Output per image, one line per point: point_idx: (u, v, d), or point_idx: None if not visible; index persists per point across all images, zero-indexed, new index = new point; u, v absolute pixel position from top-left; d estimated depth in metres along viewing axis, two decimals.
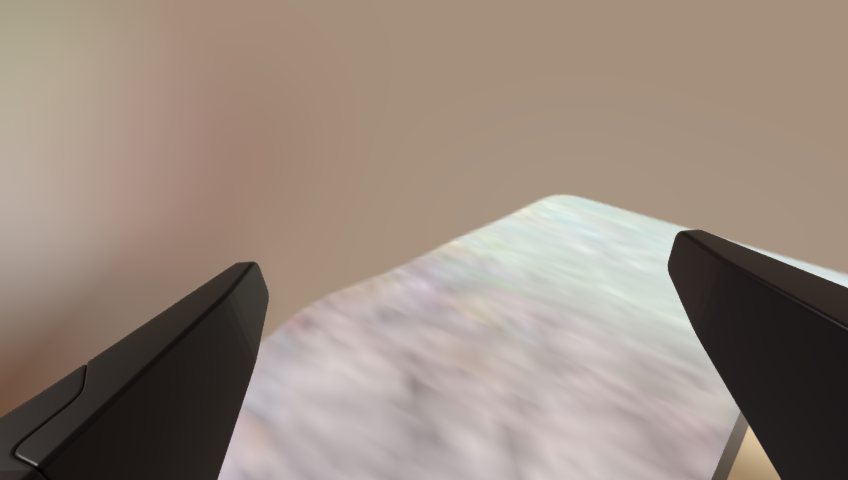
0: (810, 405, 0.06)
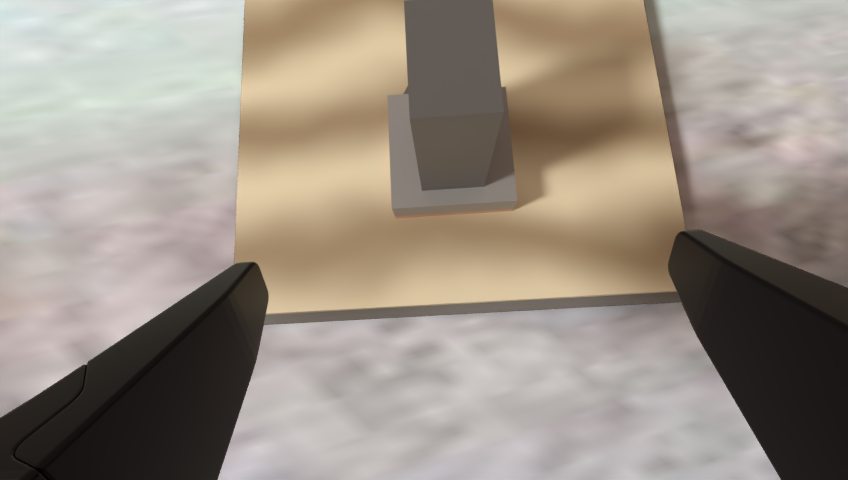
0: (810, 405, 0.06)
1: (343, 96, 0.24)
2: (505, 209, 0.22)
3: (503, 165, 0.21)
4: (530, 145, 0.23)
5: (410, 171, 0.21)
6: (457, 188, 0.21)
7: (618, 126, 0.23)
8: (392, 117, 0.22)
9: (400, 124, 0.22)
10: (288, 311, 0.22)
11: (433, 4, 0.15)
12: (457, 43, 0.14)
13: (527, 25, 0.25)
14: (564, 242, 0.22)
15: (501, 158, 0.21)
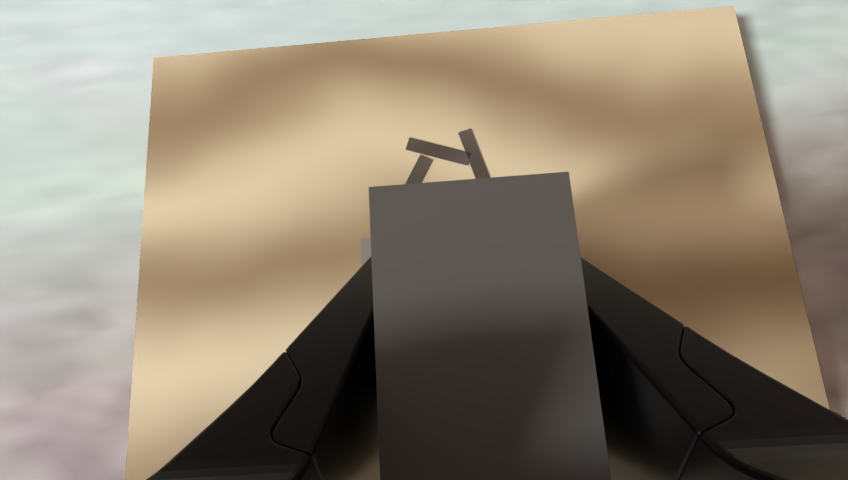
0: (606, 417, 0.06)
1: (296, 220, 0.16)
2: None
3: None
4: None
5: None
6: None
7: (721, 272, 0.15)
8: None
9: None
10: None
11: (435, 198, 0.06)
12: (493, 300, 0.06)
13: (574, 107, 0.16)
14: None
15: None
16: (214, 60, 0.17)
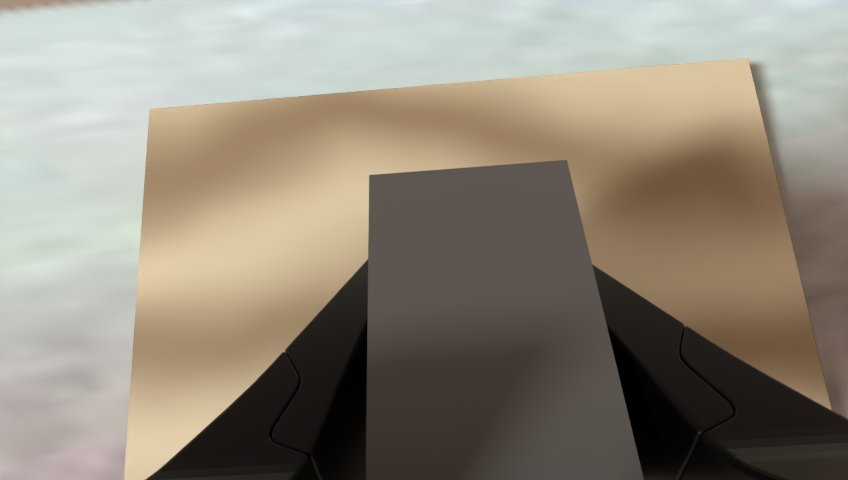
0: None
1: (296, 283, 0.15)
2: None
3: None
4: None
5: None
6: None
7: (736, 341, 0.14)
8: None
9: None
10: None
11: (435, 183, 0.06)
12: (494, 278, 0.06)
13: (583, 165, 0.16)
14: None
15: None
16: (212, 112, 0.17)
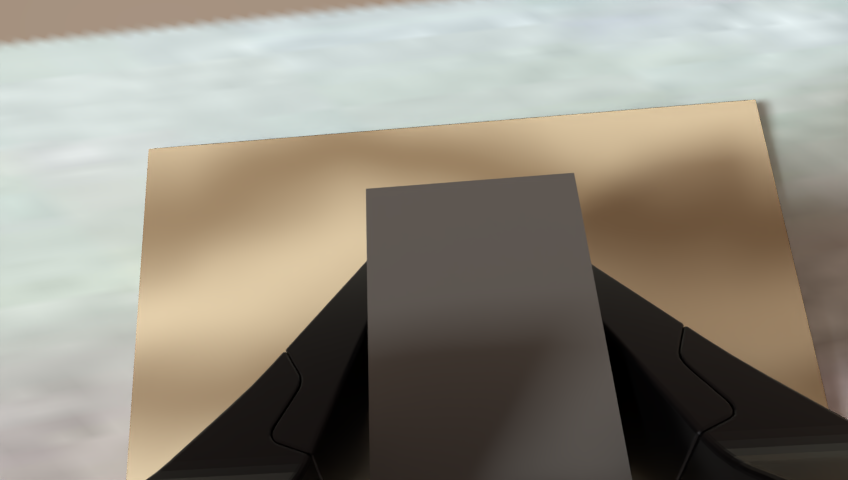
0: None
1: (298, 330, 0.15)
2: None
3: None
4: None
5: None
6: None
7: None
8: None
9: None
10: None
11: (435, 199, 0.06)
12: (497, 306, 0.06)
13: (588, 209, 0.16)
14: None
15: None
16: (212, 152, 0.17)
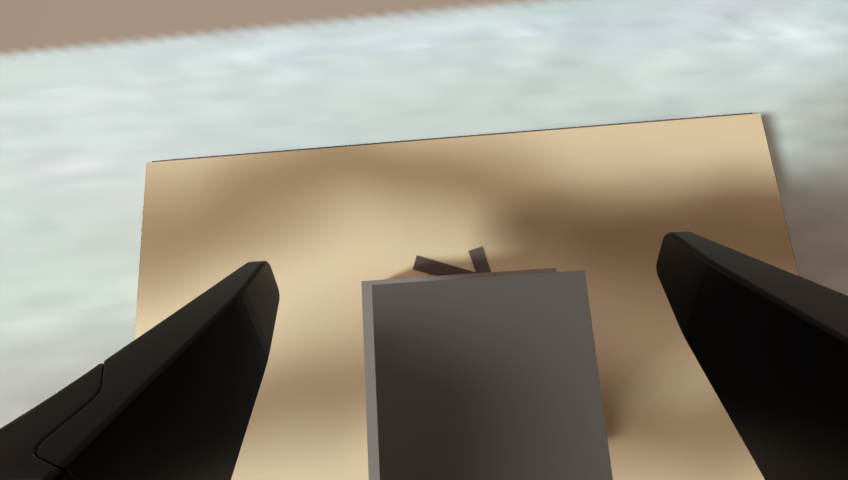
0: (792, 406, 0.06)
1: (297, 347, 0.15)
2: None
3: None
4: None
5: None
6: None
7: None
8: (369, 321, 0.13)
9: None
10: None
11: (443, 298, 0.06)
12: (504, 413, 0.06)
13: (591, 224, 0.15)
14: None
15: None
16: (210, 166, 0.17)
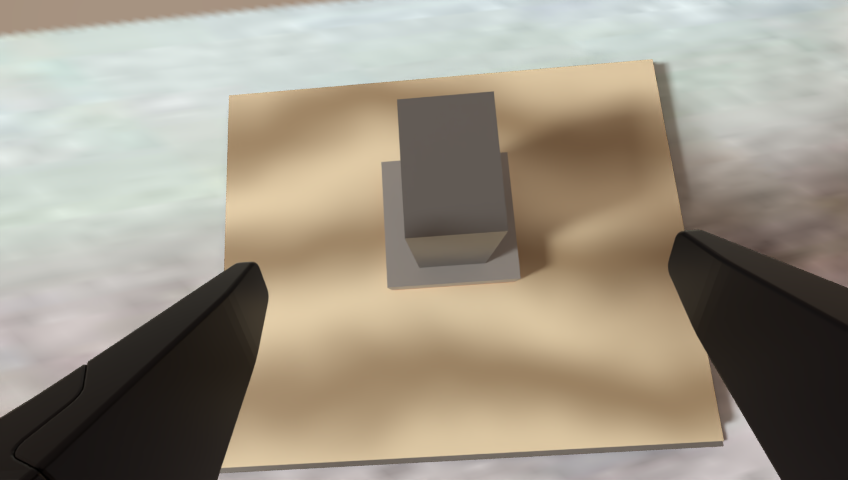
0: (810, 405, 0.06)
1: (336, 214, 0.22)
2: (507, 281, 0.21)
3: (505, 239, 0.20)
4: (540, 272, 0.21)
5: (406, 246, 0.20)
6: (456, 265, 0.20)
7: (635, 250, 0.21)
8: (387, 186, 0.20)
9: (395, 194, 0.20)
10: (279, 463, 0.20)
11: (429, 104, 0.13)
12: (456, 150, 0.13)
13: (535, 133, 0.23)
14: (578, 385, 0.20)
15: None
16: (274, 97, 0.24)
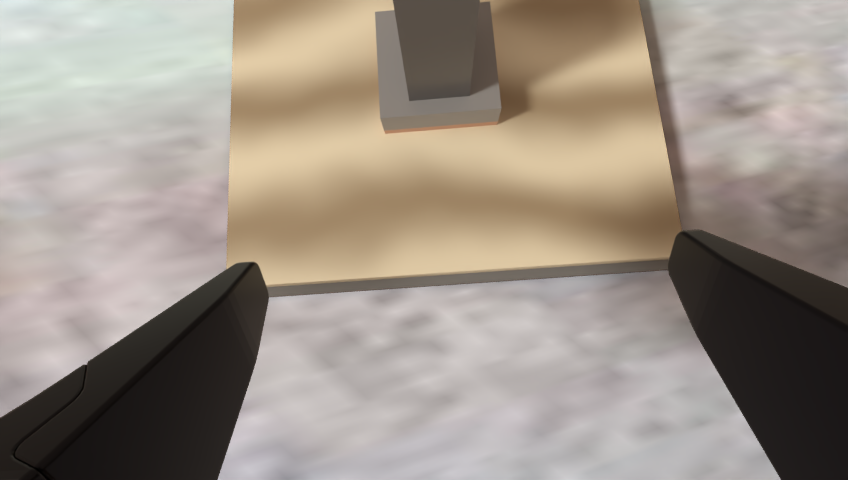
0: (810, 405, 0.06)
1: (334, 70, 0.24)
2: (490, 122, 0.23)
3: (487, 75, 0.22)
4: (521, 116, 0.23)
5: (398, 83, 0.22)
6: (443, 98, 0.22)
7: (608, 96, 0.23)
8: (380, 32, 0.22)
9: (387, 39, 0.22)
10: (281, 283, 0.22)
11: None
12: None
13: None
14: (555, 211, 0.22)
15: (485, 68, 0.22)
16: None
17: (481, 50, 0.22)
